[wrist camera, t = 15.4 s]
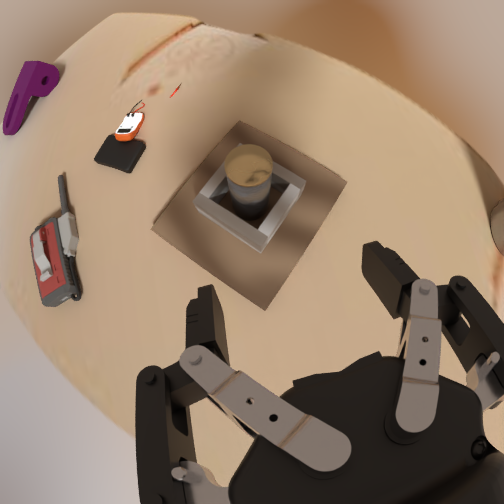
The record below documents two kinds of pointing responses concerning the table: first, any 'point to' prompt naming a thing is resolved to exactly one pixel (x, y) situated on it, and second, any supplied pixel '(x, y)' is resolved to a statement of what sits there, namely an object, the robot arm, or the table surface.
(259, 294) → the dock board
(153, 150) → the table surface
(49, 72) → the mounting bracket
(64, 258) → the walkie-talkie
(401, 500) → the robot arm
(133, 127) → the multimeter
